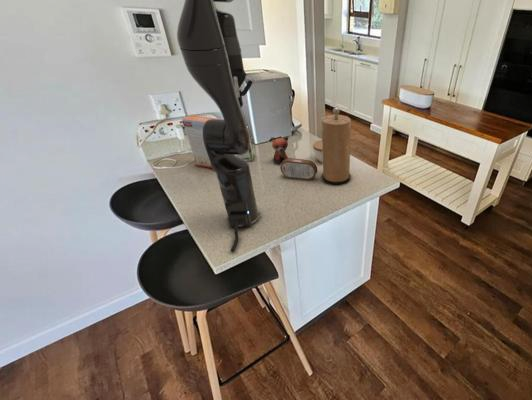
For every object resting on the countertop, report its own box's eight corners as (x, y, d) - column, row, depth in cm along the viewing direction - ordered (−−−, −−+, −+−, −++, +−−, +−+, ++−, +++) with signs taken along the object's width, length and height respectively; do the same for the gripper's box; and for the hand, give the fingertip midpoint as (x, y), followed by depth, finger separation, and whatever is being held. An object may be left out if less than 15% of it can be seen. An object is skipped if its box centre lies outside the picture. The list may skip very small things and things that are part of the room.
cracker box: (232, 165, 123) (221, 118, 111) (223, 171, 118) (211, 123, 106) (205, 159, 126) (192, 113, 114) (195, 165, 121) (180, 118, 109)
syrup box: (239, 161, 126) (232, 130, 118) (240, 156, 131) (234, 126, 122) (253, 160, 127) (247, 130, 119) (253, 155, 132) (248, 125, 124)
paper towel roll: (351, 185, 114) (353, 112, 97) (321, 185, 113) (319, 112, 96) (349, 171, 124) (351, 103, 107) (322, 171, 123) (320, 102, 106)
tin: (318, 177, 118) (317, 159, 113) (316, 181, 115) (315, 163, 110) (283, 174, 118) (281, 156, 114) (280, 178, 116) (278, 159, 111)
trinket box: (322, 167, 125) (321, 147, 120) (309, 158, 132) (308, 139, 127) (341, 161, 131) (341, 142, 126) (327, 153, 138) (327, 134, 133)
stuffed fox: (287, 153, 135) (285, 129, 128) (292, 163, 127) (289, 138, 120) (271, 155, 133) (268, 131, 126) (275, 166, 124) (271, 140, 117)
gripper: (201, 53, 84) (215, 110, 94) (246, 54, 85) (256, 111, 95) (210, 49, 90) (222, 104, 100) (252, 51, 92) (260, 105, 101)
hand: (239, 107), depth 98 cm, fingers closed
